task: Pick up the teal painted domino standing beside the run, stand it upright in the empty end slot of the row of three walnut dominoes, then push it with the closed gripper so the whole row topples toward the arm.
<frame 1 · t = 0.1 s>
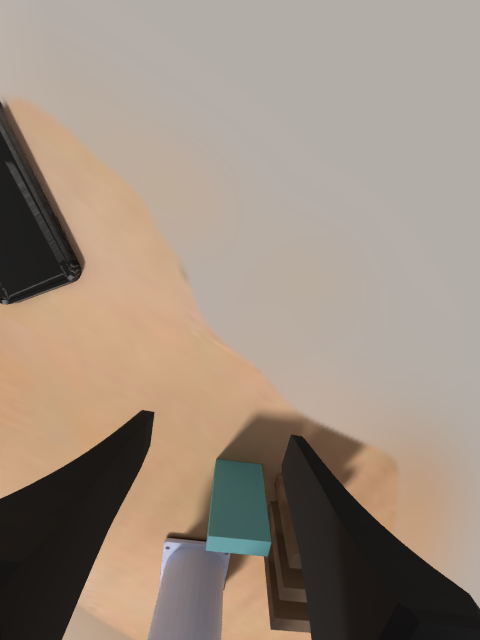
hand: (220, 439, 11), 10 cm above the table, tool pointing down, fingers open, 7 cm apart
domino teal placed: (237, 467, 24), on the table
phone: (4, 205, 18), on the table
domino 3: (290, 509, 26), on the table
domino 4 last: (283, 534, 27), on the table
domino 2: (298, 481, 25), on the table
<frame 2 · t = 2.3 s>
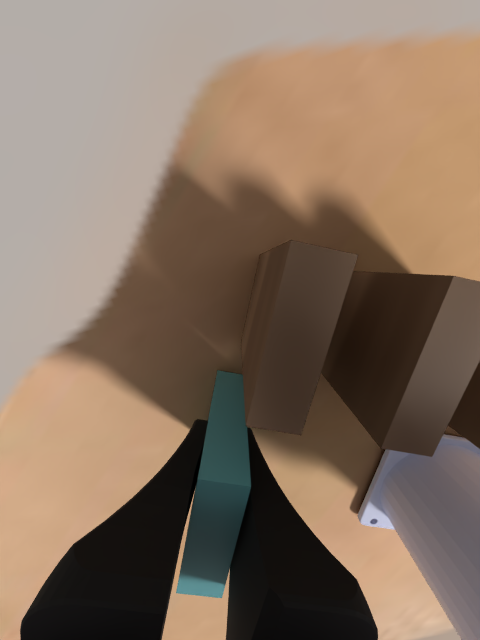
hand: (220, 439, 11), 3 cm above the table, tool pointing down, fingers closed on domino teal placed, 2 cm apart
domino teal placed: (223, 408, 14), on the table, touching gripper
domino 3: (331, 317, 13), on the table
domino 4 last: (397, 330, 13), on the table
domino 2: (263, 303, 12), on the table
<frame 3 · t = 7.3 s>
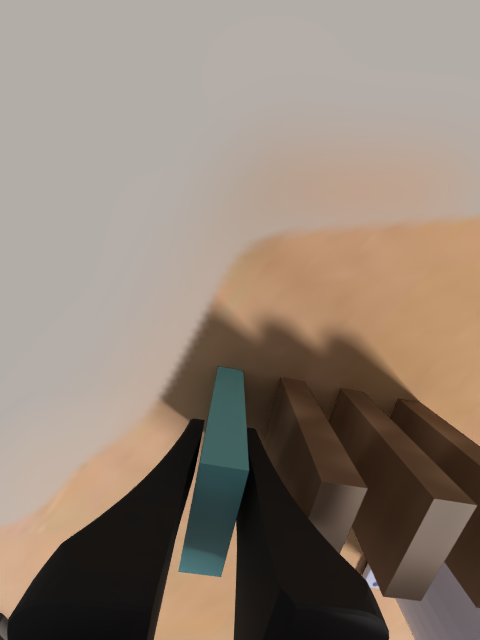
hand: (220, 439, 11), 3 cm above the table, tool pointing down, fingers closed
domino teal placed: (223, 403, 14), on the table
domino 3: (340, 422, 15), on the table
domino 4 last: (396, 432, 15), on the table
domino 2: (283, 413, 15), on the table
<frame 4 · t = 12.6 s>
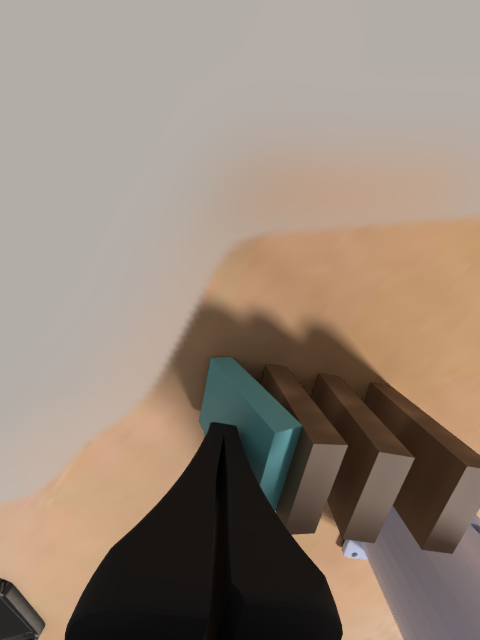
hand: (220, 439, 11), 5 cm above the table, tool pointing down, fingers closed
domino teal placed: (215, 389, 16), on the table, tilted 29°, touching domino 2
domino 3: (319, 404, 17), on the table
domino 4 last: (369, 413, 17), on the table
domino 2: (268, 396, 16), on the table, tilted 9°, touching domino teal placed
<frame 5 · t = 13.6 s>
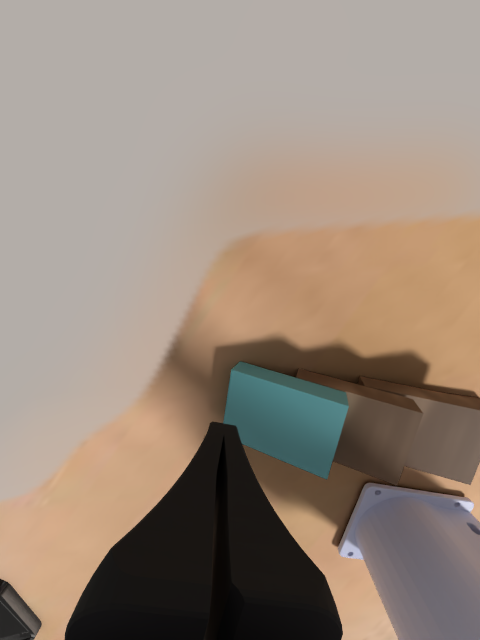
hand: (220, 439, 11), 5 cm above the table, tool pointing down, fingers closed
domino teal placed: (230, 397, 16), point 1 cm above the table, tilted 68°, touching domino 2
domino 3: (354, 412, 16), point 1 cm above the table, tilted 73°, touching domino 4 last
domino 2: (290, 404, 16), point 1 cm above the table, tilted 68°, touching domino teal placed
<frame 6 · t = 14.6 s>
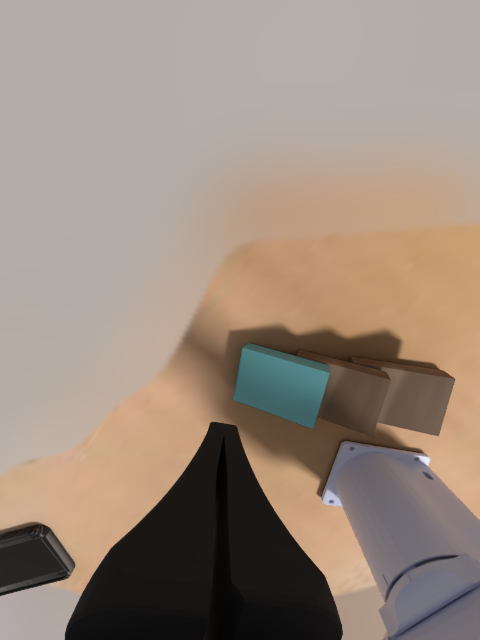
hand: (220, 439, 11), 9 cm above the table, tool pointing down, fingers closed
domino teal placed: (240, 370, 20), point 1 cm above the table, tilted 69°, touching domino 2
phone: (9, 555, 27), on the table
domino 3: (347, 385, 20), point 1 cm above the table, tilted 71°, touching domino 2
domino 2: (292, 377, 20), point 1 cm above the table, tilted 66°, touching domino 3, domino teal placed
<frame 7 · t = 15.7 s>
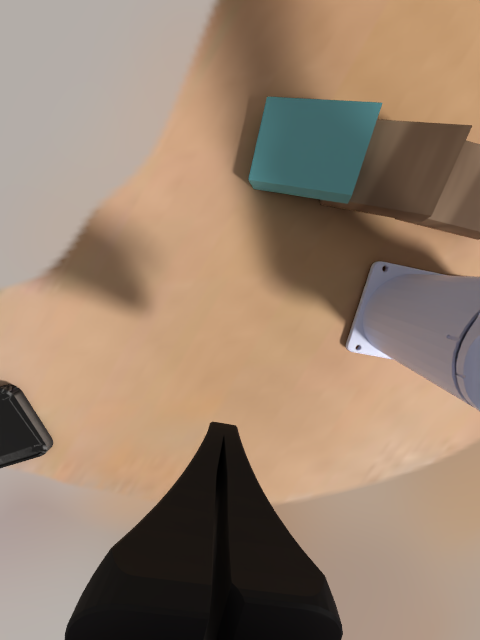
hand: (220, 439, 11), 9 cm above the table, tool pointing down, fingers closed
domino teal placed: (259, 146, 16), point 1 cm above the table, tilted 72°, touching domino 2
domino 3: (415, 179, 16), point 1 cm above the table, tilted 89°, touching domino 2, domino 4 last
domino 2: (332, 164, 16), point 1 cm above the table, tilted 68°, touching domino 3, domino teal placed
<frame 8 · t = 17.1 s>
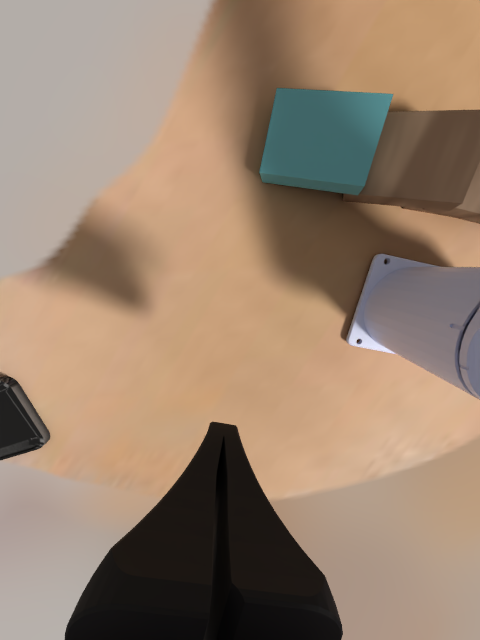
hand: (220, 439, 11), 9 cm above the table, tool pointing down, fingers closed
domino teal placed: (269, 139, 16), point 1 cm above the table, tilted 75°, touching domino 2
domino 3: (445, 169, 16), point 2 cm above the table, tilted 90°, touching domino 2, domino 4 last
domino 2: (353, 160, 16), point 1 cm above the table, tilted 68°, touching domino 3, domino teal placed
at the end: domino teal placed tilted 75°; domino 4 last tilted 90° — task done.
